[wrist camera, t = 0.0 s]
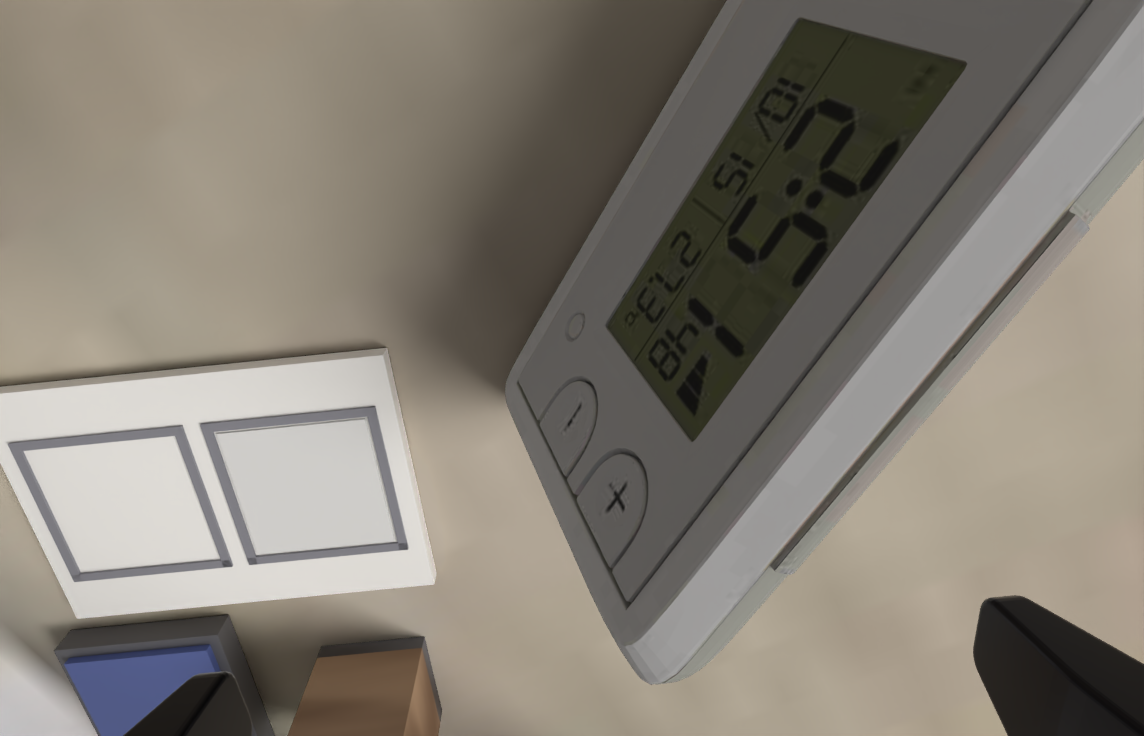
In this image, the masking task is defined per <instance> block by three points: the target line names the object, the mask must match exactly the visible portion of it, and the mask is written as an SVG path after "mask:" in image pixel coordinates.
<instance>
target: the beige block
mask: <svg viewBox="0 0 1144 736" xmlns="http://www.w3.org/2000/svg"><path fill="white" fill-rule="evenodd" d="M441 714H442V708H441V704H440V700H439V695H438V691H437V687H436V683H435V679H434V675H433V670H432V666H431V662H430V658H429V654H428V649H427V645H426V641H425V637H414V638H404V639H393V640H383V641H373V642H362V643H352V644H341V645H331V646H321V649H320V652H319V654H318V657H317V660H316V662H315V665H314V667H313V670H312V673H311V675H310V678H309V681H308V683H307V686H306V688H305V691H304V694H303V696H302V699H301V702H300V704H299V707H298V709H297V712H296V715H295V717H294V720H293V723H292V725H291V728H290V731H289V733H288V736H438V733H439V727H440V721H441Z"/></svg>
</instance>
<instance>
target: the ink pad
mask: <svg viewBox="0 0 1144 736" xmlns="http://www.w3.org/2000/svg"><path fill="white" fill-rule="evenodd" d="M54 652H55V654H56V656H57V658H58V660H59V662H60V663H61V665H62V667H63V669H64V671H65V673H66V675H67V677H68V679H69V681H70V683H71V684H72V686H73V688H74V690H75V692H76V694H77V696H78V698H79V700H80V702H81V704H82V706H83V707H84V709H85V711H86V713H87V715H88V717H89V719H90V721H91V723H92V725H93V727H94V728H95V730H96V732H97V734H98V736H123V735H124V734H125V733H126V732H128V731H129V730H130V729H131V728H132V727H133V726H135V725H136V724H137V723H138V722H139V721H140V720H142V719H143V718H144V717H145V716H146V715H147V714H149V713H150V712H151V711H152V710H153V709H154V708H156V707H157V706H158V705H159V704H160V703H161V702H163V701H164V700H165V699H166V698H167V697H168V696H169V695H171V694H172V693H173V692H174V691H175V690H176V689H178V688H179V687H180V686H181V685H182V684H183V683H185V682H186V681H187V680H188V679H190V678H191V677H192V676H194V675H197V674H200V673H210V672H220V671H227V672H230V673H231V674H233V675H234V677H235V679H236V681H237V683H238V686H239V688H240V691H241V693H242V696H243V698H244V701H245V703H246V706H247V708H248V711H249V714H250V716H251V721H252V736H275V735H274V733H273V730H272V727H271V725H270V722H269V719H268V717H267V714H266V711H265V709H264V706H263V704H262V701H261V698H260V696H259V693H258V690H257V688H256V685H255V682H254V680H253V677H252V675H251V672H250V669H249V667H248V664H247V661H246V659H245V656H244V653H243V651H242V648H241V646H240V643H239V640H238V638H237V635H236V632H235V630H234V627H233V625H232V622H231V619H230V617H229V615H223V616H213V617H203V618H192V619H182V620H172V621H161V622H151V623H141V624H130V625H120V626H110V627H99V628H89V629H79V630H70V632H69V633H68V634H67V635H66V637H65V638H64V639H63V640H62V641H61V643H60V644H59V645H58V646H57V647H56V649H55V650H54Z"/></svg>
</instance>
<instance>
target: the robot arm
mask: <svg viewBox="0 0 1144 736" xmlns="http://www.w3.org/2000/svg"><path fill="white" fill-rule="evenodd" d="M973 655H974V661H975V665H976V668H977V671H978V673H979V675H980V677H981V679H982V682H983V684H984V686H985V688H986V690H987V692H988V694H989V697H990V699H991V701H992V703H993V705H994V707H995V709H996V711H997V714H998V716H999V718H1000V720H1001V722H1002V724H1003V726H1004V728H1005V731H1006V733H1007V735H1008V736H1144V664H1143V663H1141V662H1139V661H1137V660H1136V659H1134V658H1132V657H1130V656H1129V655H1127V654H1125V653H1123V652H1122V651H1120V650H1118V649H1116V648H1114V647H1113V646H1111V645H1109V644H1107V643H1106V642H1104V641H1102V640H1100V639H1098V638H1097V637H1095V636H1093V635H1091V634H1090V633H1088V632H1086V631H1084V630H1082V629H1081V628H1079V627H1077V626H1075V625H1074V624H1072V623H1070V622H1068V621H1067V620H1065V619H1063V618H1061V617H1059V616H1058V615H1056V614H1054V613H1052V612H1051V611H1049V610H1047V609H1045V608H1043V607H1042V606H1040V605H1038V604H1036V603H1035V602H1033V601H1031V600H1029V599H1027V598H1025V597H1022V596H1016V595H1014V596H1004V597H993V598H988V599H986V600H985V601H984V602H983V603H982V605H981V608H980V613H979V619H978V624H977V630H976V636H975V641H974V647H973ZM123 736H252V721H251V716H250V714H249V711H248V708H247V706H246V703H245V701H244V698H243V696H242V693H241V691H240V688H239V686H238V683H237V681H236V679H235V677H234V675H233V674H231V673H230V672H227V671H220V672H210V673H200V674H197V675H194V676H192V677H191V678H190V679H188V680H187V681H186V682H185V683H183V684H182V685H181V686H180V687H179V688H178V689H176V690H175V691H174V692H173V693H172V694H171V695H169V696H168V697H167V698H166V699H165V700H164V701H163V702H161V703H160V704H159V705H158V706H157V707H156V708H154V709H153V710H152V711H151V712H150V713H149V714H147V715H146V716H145V717H144V718H143V719H142V720H140V721H139V722H138V723H137V724H136V725H135V726H133V727H132V728H131V729H130V730H129V731H128V732H126V733H125V734H124V735H123Z"/></svg>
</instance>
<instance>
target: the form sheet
mask: <svg viewBox="0 0 1144 736" xmlns="http://www.w3.org/2000/svg"><path fill="white" fill-rule="evenodd" d="M0 463H1V465H2V467H3V469H4V471H5V474H6V476H7V478H8V480H9V482H10V484H11V486H12V488H13V490H14V492H15V494H16V496H17V498H18V500H19V502H20V504H21V506H22V508H23V510H24V512H25V514H26V516H27V518H28V520H29V522H30V524H31V526H32V528H33V530H34V532H35V534H36V536H37V538H38V540H39V542H40V544H41V546H42V548H43V551H44V553H45V555H46V557H47V559H48V561H49V563H50V565H51V567H52V569H53V571H54V573H55V575H56V577H57V579H58V581H59V583H60V585H61V587H62V589H63V591H64V593H65V595H66V597H67V599H68V601H69V603H70V605H71V607H72V609H73V611H74V613H75V615H76V617H77V619H82V618H92V617H102V616H113V615H123V614H133V613H144V612H154V611H164V610H175V609H185V608H195V607H206V606H216V605H226V604H237V603H247V602H257V601H268V600H278V599H288V598H299V597H309V596H319V595H330V594H340V593H350V592H361V591H371V590H381V589H392V588H402V587H412V586H423V585H433V584H434V583H435V578H436V568H435V564H434V559H433V555H432V550H431V546H430V541H429V536H428V532H427V527H426V523H425V518H424V514H423V509H422V504H421V500H420V495H419V491H418V486H417V482H416V477H415V472H414V468H413V463H412V459H411V454H410V450H409V445H408V440H407V436H406V431H405V427H404V422H403V418H402V413H401V408H400V404H399V399H398V395H397V390H396V386H395V381H394V376H393V372H392V367H391V363H390V358H389V354H388V349H387V348H379V349H369V350H359V351H350V352H340V353H330V354H320V355H310V356H300V357H290V358H280V359H270V360H260V361H250V362H241V363H231V364H221V365H211V366H201V367H191V368H181V369H171V370H161V371H151V372H141V373H132V374H122V375H112V376H102V377H92V378H82V379H72V380H62V381H52V382H42V383H33V384H23V385H13V386H3V387H0Z"/></svg>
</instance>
